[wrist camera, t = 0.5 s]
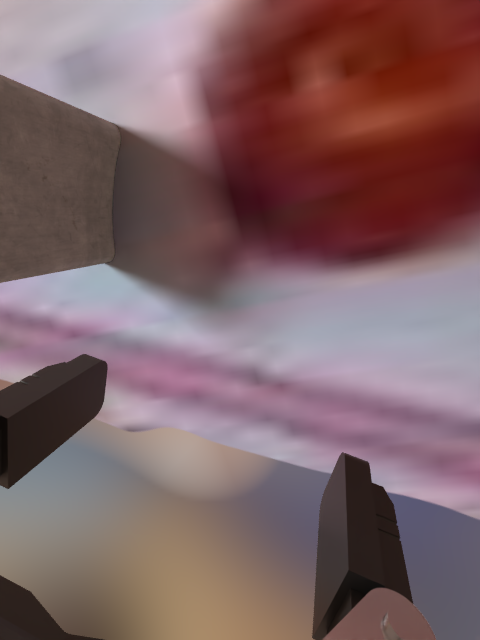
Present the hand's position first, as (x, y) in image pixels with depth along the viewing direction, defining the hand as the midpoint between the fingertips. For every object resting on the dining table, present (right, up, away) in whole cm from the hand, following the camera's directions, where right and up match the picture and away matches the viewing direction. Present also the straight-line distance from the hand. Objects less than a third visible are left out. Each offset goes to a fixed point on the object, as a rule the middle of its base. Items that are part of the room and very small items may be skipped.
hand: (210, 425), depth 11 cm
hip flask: (-15, +18, +30) cm, 38 cm away
